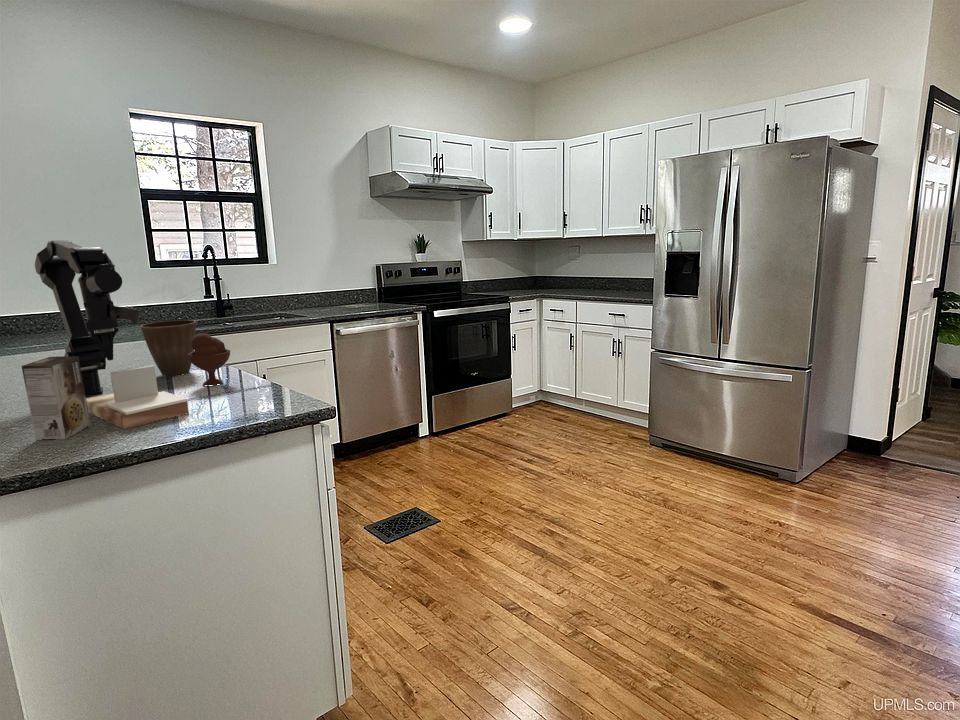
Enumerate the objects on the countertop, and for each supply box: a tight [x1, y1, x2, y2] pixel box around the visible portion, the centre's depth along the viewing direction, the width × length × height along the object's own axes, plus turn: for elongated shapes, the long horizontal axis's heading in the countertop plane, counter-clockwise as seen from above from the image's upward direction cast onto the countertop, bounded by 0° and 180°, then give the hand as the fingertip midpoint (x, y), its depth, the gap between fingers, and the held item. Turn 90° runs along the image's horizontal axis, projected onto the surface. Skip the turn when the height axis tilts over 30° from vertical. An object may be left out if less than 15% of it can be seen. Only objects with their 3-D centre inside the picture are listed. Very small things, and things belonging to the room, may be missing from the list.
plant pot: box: [140, 319, 197, 377], centre depth 175 cm, size 15×15×16 cm
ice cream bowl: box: [187, 333, 231, 385], centre depth 161 cm, size 11×11×15 cm
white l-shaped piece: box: [105, 365, 188, 415], centre depth 131 cm, size 12×13×8 cm
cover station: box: [86, 392, 190, 430], centre depth 136 cm, size 24×14×3 cm, turn 52°
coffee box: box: [20, 355, 92, 441], centre depth 121 cm, size 9×6×16 cm
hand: (110, 360), depth 141 cm, fingers closed
